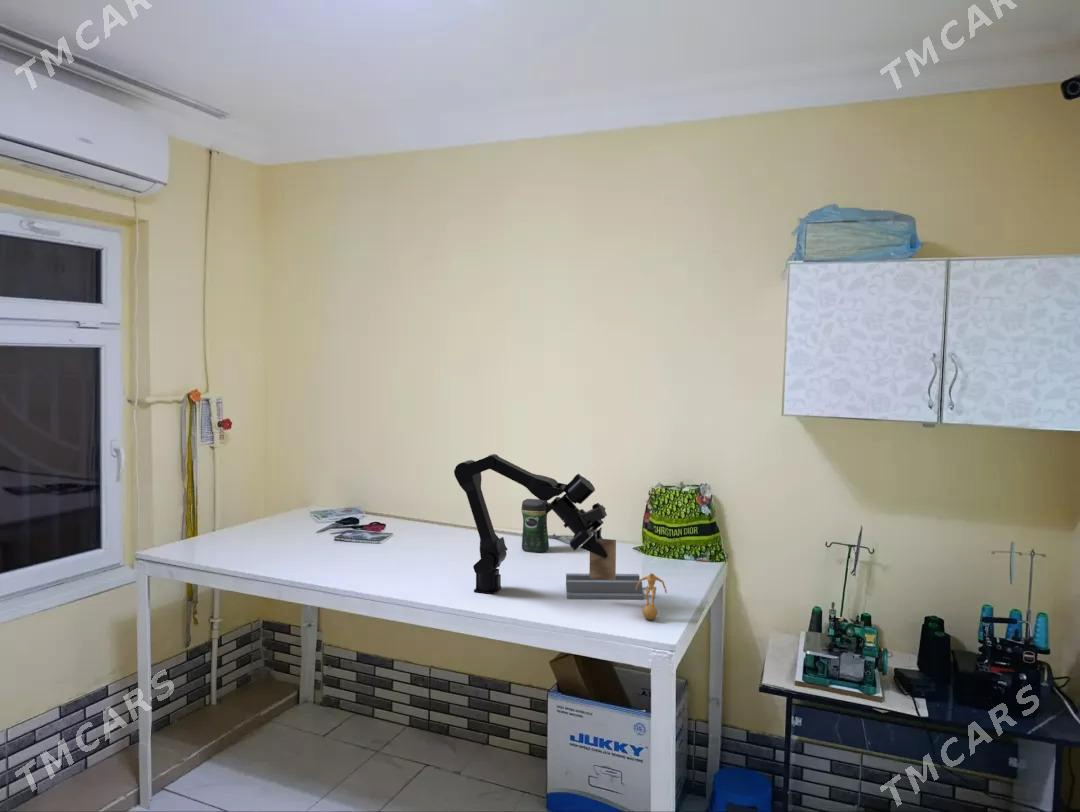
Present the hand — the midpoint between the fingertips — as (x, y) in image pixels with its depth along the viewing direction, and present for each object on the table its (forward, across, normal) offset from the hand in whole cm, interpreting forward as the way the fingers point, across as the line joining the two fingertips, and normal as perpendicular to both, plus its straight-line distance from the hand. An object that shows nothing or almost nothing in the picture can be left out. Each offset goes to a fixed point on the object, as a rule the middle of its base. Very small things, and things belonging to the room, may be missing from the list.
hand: (607, 555), depth 203 cm
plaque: (+4, 0, +6) cm, 7 cm away
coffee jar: (-16, +48, +36) cm, 62 cm away
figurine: (+19, -9, 0) cm, 21 cm away
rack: (+7, +10, +12) cm, 17 cm away
